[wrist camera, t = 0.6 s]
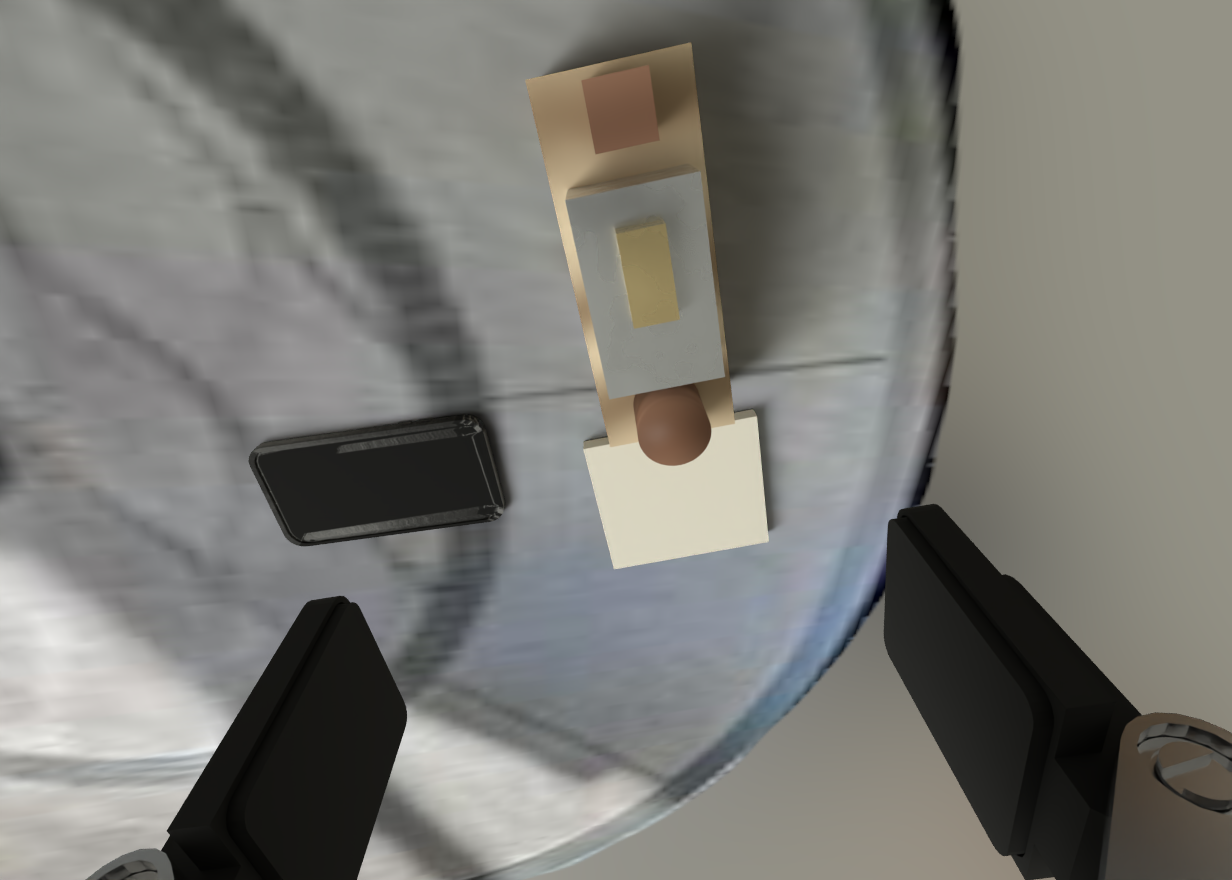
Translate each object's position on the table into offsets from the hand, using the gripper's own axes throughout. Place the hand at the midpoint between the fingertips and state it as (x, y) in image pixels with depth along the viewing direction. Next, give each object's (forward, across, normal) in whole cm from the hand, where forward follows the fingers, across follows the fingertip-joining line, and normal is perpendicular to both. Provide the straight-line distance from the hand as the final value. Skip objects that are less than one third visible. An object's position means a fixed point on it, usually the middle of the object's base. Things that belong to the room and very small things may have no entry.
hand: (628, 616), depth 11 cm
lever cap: (+22, -2, -1) cm, 22 cm away
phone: (+28, +17, +10) cm, 34 cm away
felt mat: (+27, -2, +15) cm, 31 cm away
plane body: (+27, -2, -1) cm, 27 cm away
